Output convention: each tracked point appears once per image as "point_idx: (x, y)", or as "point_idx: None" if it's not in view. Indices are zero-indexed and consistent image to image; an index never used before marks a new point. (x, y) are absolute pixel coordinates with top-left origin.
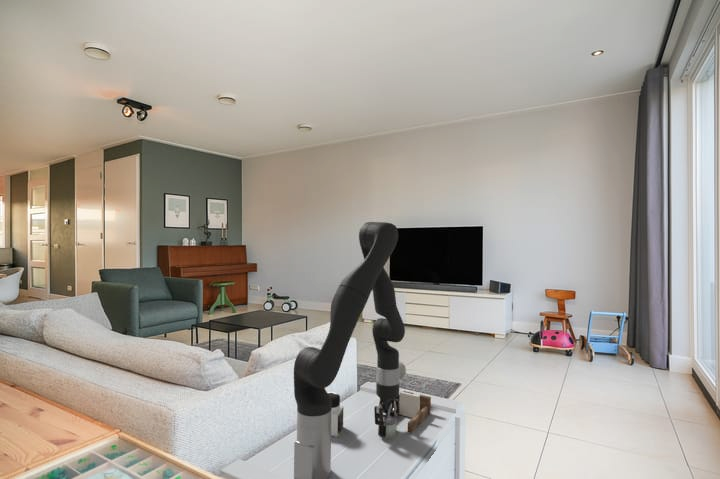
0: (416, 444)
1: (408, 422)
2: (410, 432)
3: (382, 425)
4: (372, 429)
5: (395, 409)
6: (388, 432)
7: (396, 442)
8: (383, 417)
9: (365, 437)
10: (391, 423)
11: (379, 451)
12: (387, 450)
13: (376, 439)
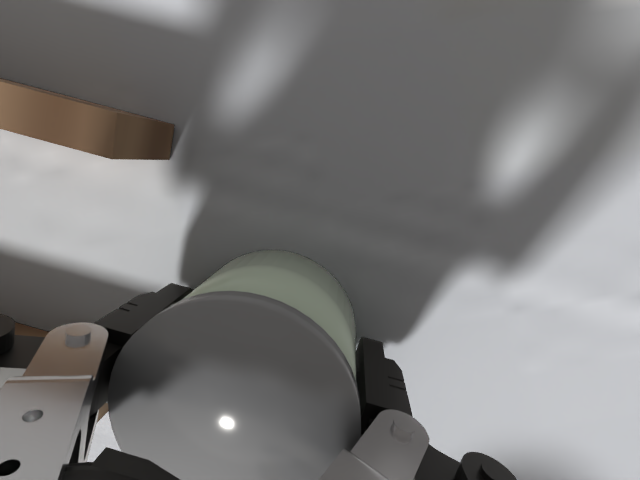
0: (379, 27)
1: (101, 151)
2: (173, 129)
3: (488, 462)
4: None
5: (50, 403)
6: (350, 328)
7: (394, 225)
8: (214, 469)
9: None
10: (335, 350)
11: (585, 337)
12: (555, 277)
13: None
